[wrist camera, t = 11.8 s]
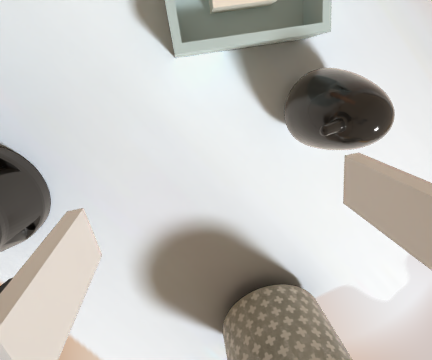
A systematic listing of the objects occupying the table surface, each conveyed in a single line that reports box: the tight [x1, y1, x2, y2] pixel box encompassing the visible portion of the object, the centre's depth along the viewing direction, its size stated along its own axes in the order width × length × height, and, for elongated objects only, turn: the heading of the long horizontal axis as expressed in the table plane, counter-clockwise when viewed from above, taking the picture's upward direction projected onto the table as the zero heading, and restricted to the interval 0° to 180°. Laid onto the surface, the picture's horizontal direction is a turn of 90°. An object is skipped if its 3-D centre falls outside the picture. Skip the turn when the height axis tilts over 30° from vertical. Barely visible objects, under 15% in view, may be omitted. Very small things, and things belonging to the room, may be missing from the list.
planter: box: [223, 284, 352, 360], centre depth 45 cm, size 19×19×18 cm
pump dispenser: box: [285, 68, 395, 150], centre depth 32 cm, size 10×10×15 cm
